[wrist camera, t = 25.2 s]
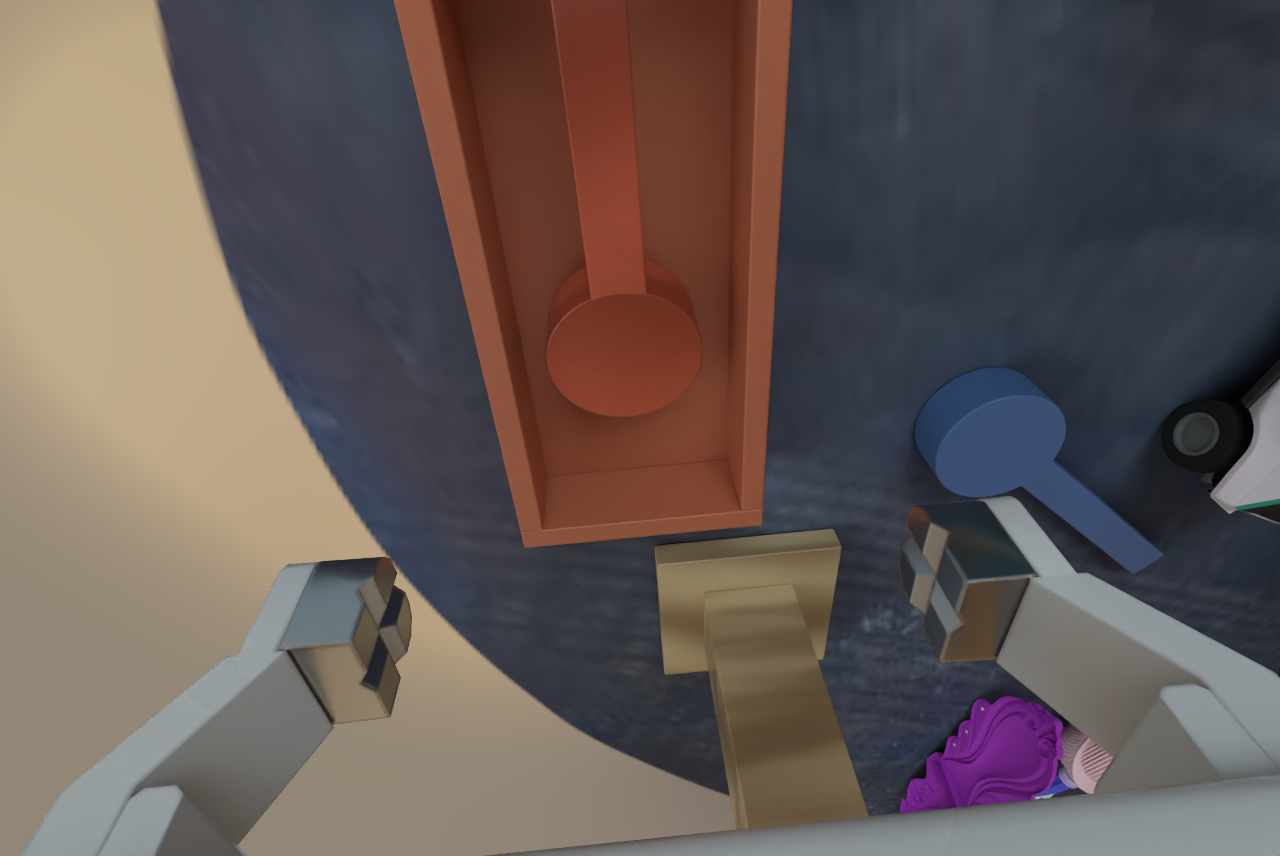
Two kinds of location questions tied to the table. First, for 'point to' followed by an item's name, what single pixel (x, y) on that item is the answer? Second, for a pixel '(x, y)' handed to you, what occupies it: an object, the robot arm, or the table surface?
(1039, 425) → the blue spoon
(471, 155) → the terracotta tray
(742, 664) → the spoon stand
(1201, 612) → the table surface
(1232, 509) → the toy car
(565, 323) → the red spoon
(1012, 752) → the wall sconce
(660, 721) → the table surface
